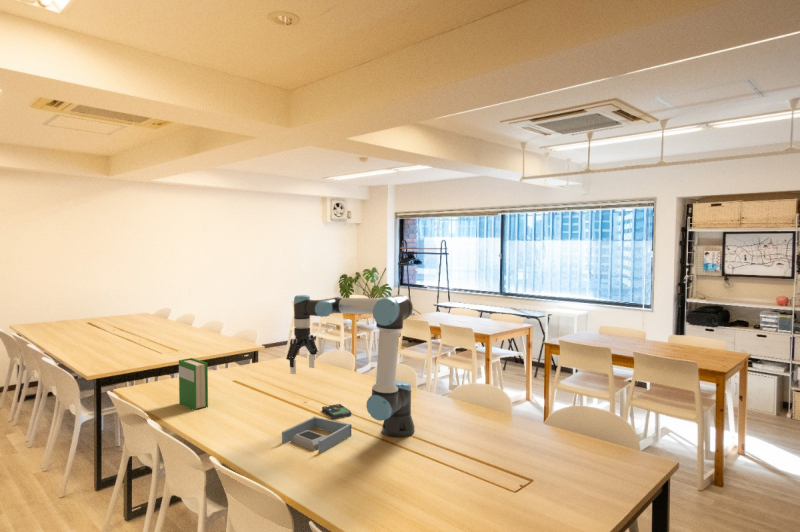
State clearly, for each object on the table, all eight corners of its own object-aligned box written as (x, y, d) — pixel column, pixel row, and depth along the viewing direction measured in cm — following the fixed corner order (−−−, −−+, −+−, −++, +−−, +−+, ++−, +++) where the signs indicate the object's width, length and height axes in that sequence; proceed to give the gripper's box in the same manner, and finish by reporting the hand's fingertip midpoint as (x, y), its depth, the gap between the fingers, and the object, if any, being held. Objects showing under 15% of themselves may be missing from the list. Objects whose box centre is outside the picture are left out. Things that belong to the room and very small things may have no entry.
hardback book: (208, 407, 264) (207, 362, 263) (194, 410, 259) (193, 365, 258) (192, 400, 276) (192, 357, 275) (179, 403, 270) (178, 360, 269)
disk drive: (321, 412, 259) (333, 420, 246) (321, 406, 259) (333, 414, 246) (339, 408, 265) (352, 416, 252) (339, 403, 264) (352, 410, 252)
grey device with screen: (313, 443, 208) (291, 434, 218) (313, 451, 208) (291, 442, 218) (330, 436, 216) (308, 428, 225) (330, 444, 216) (308, 436, 225)
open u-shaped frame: (351, 435, 226) (351, 424, 225) (320, 453, 206) (320, 441, 206) (314, 426, 236) (314, 416, 236) (282, 443, 216) (281, 431, 216)
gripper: (312, 323, 251) (313, 364, 252) (278, 330, 229) (278, 375, 230) (324, 324, 247) (324, 366, 248) (290, 331, 226) (291, 377, 226)
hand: (302, 370), depth 239 cm, fingers open, 13 cm apart
